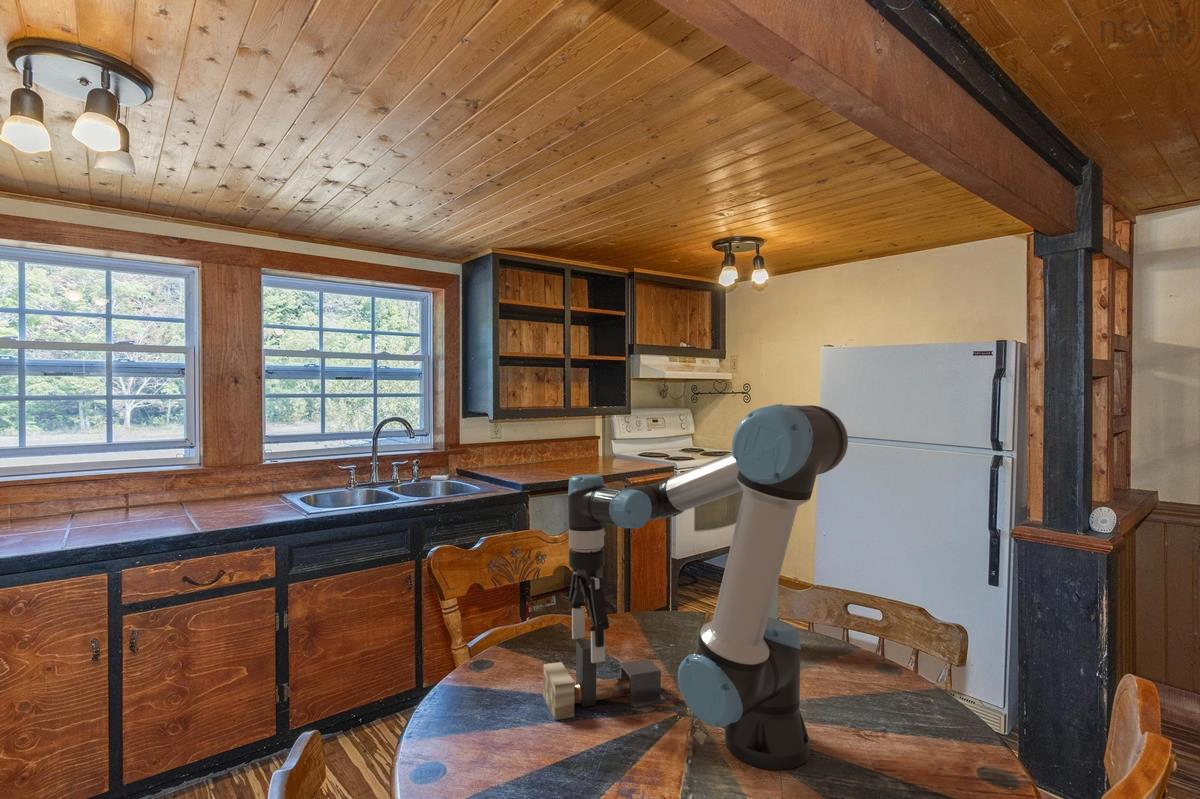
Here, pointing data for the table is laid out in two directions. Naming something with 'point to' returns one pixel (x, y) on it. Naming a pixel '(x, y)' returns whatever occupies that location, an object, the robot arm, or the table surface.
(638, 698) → the grey block
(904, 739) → the table surface
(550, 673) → the socket block
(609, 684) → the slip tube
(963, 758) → the table surface
